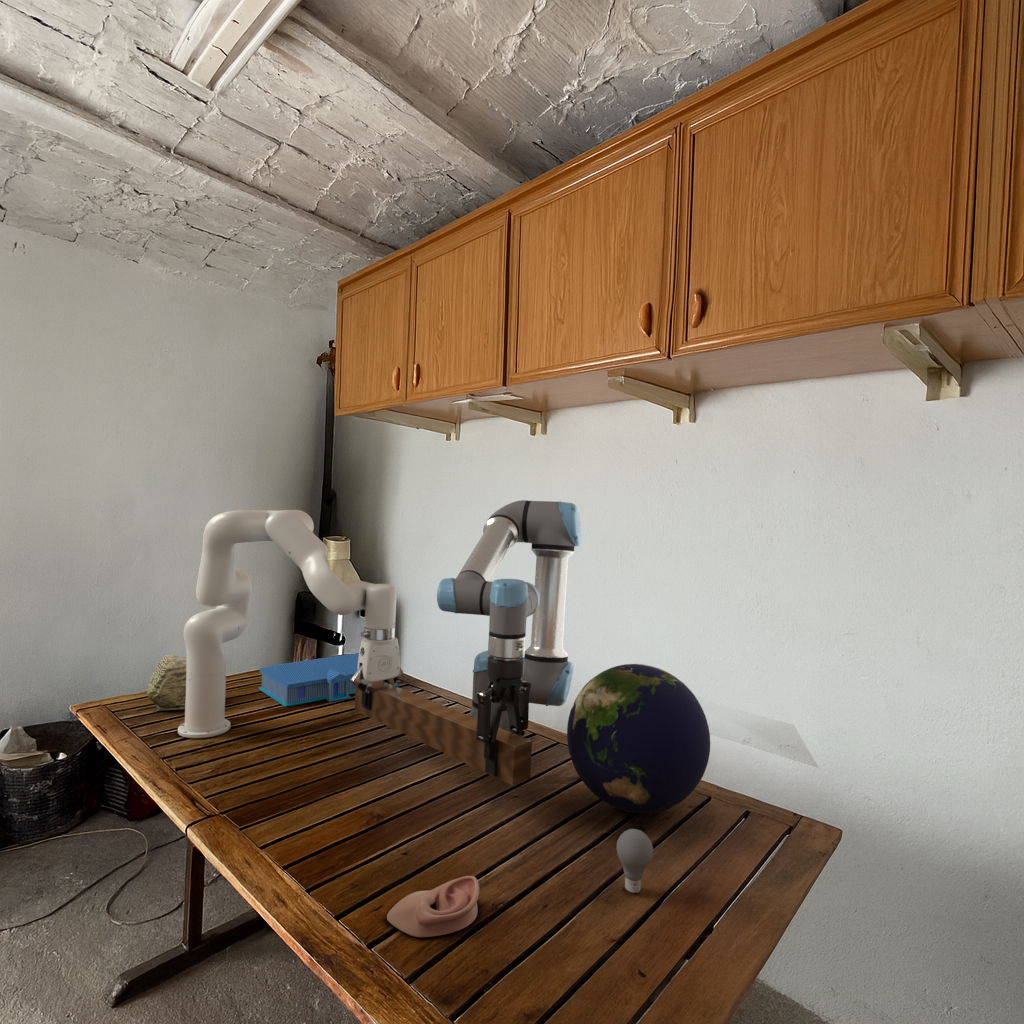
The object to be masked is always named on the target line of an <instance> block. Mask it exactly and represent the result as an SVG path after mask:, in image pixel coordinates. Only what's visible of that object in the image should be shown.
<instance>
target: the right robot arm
mask: <svg viewBox="0 0 1024 1024" xmlns="http://www.w3.org/2000/svg"><path fill="white" fill-rule="evenodd" d="M482 533H483V534H482V535H481V537H480V539H479V540H478V542H477V543H476V544H475V547H474V549H473V550H472V552H471V554H470V555H469V556H468V559H466V562H465V563H464V565H463V567H462V568H461V569H460V571H459V573H458V574H457V576H456V577H455V578H454V577H450V578H449V577H445V578H442V579H441V581H440V582H439V583H438V586H437V591H436V602H437V603H436V604H437V606H438V608H439V610H441V611H442V612H447V613H454V614H460V615H461V614H463V615H477V616H485V617H489V623H488V626H489V627H488V643H487V650H483V651H481V652H480V653H478V654H477V655H476V656H475V657H474V661H473V669H472V698H471V700H472V701H471V708H470V712H469V714H468V715H469V716H471V717H474V718H476V719H477V735H476V738H477V740H480V741H482V742H484V758H486V759H485V772H486V773H485V772H484V773H485V774H487V773H488V774H487V775H489V774H490V775H489V776H491V775H492V776H491V777H493V776H497V763H498V743H497V742H495V741H496V736H497V732H498V727H499V728H501V729H504V730H506V731H509V732H511V733H514V734H516V735H519V736H521V737H524V736H525V734H526V731H525V730H528V728H529V713H530V712H529V711H530V704H535V705H541V706H545V707H548V706H551V707H561V706H563V705H564V704H565V703H566V702H567V699H568V696H569V694H570V690H571V685H572V681H573V674H574V663H573V662H571V661H570V660H569V654H568V653H567V651H566V650H565V649H564V633H565V632H564V631H565V615H566V600H567V584H568V569H569V567H568V566H569V558H570V557H571V556H573V554H575V547H580V546H581V543H582V526H581V517H580V513H579V508H578V507H577V506H576V504H574V503H572V502H566V501H560V500H559V501H554V500H553V501H552V500H550V501H548V500H547V501H545V500H526V499H525V500H524V499H523V500H516V501H513V502H510V503H508V504H505V505H504V506H502V507H500V508H499V509H497V510H496V511H494V512H493V513H492V514H491V515H490V516H489V518H488V519H487V520H486V522H485V523H484V525H483V528H482ZM517 543H525V544H531V549H530V550H531V552H532V553H533V554H534V555H535V559H536V560H535V575H534V584H532V583H531V582H529V581H525V580H522V579H517V578H497V579H495V580H493V579H494V576H495V575H496V573H497V571H498V569H499V568H500V566H501V563H502V562H503V560H504V557H505V556H506V554H507V552H508V550H509V549H511V548H513V546H514V545H515V544H517ZM492 580H493V581H492ZM530 616H532V620H531V621H532V622H531V634H530V635H531V636H530V646H529V647H528V648H526V636H527V635H526V634H527V632H526V631H527V618H528V617H530ZM489 735H490V736H489Z"/></svg>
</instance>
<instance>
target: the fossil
mask: <svg viewBox="0 0 1024 1024" xmlns="http://www.w3.org/2000/svg"><path fill="white" fill-rule="evenodd" d="M186 665H187V658H186V656H183V657H182V656H178V655H175V654H174V655H173V654H165V655H164V656H163V657H162V658H161V659H160V660H159V662H158V663H157V666H156V667H155V669H154V670H153V672H152V675H151V677H150V680H149V684H148V688H147V697H148V699H149V700H150V701H152V703H153V704H154V706H155V711H158V712H159V711H162V712H163V711H177V710H185V701H186Z"/></svg>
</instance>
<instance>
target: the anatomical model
mask: <svg viewBox="0 0 1024 1024" xmlns="http://www.w3.org/2000/svg"><path fill="white" fill-rule="evenodd" d="M479 896H480V884H479V881H478V879H477V878H476V877H475V876H474V875H463V876H461V877H457V878H454V879H451V880H449V881H447V882H445V883H443V884H440V885H438V886H436V887H435V888H433V889H430V890H417V891H415V892H412V893H409V894H408V895H406V896H404V897H402V898H401V899H400V900H399V901H398V902H397V903H395V904H394V905H393V907H391V908H390V910H389V911H388V913H387V914H386V920H387V922H388V923H390V925H392V926H393V927H394V928H396V929H398V930H399V931H401V932H402V933H405V934H406V935H408V936H411V937H415V938H431V937H438V936H443V935H448V934H452V933H456V932H458V931H462V930H463V929H464V928H467V927H468V926H470V925H471V924H472V923H473V922H474V921H475V920H476V918H477V916H478V899H479V898H480V897H479Z"/></svg>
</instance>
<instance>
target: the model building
mask: <svg viewBox="0 0 1024 1024" xmlns="http://www.w3.org/2000/svg"><path fill="white" fill-rule="evenodd" d="M358 657H359V652H356V653H349V654H342V655H341V654H340V655H335V656H329V657H328V656H327V657H321V658H315V659H314V658H313V659H307V660H300V661H293V662H287V663H278V664H272V665H268V666H264V667H263V666H262V667H260V668H259V672H260V673H261V686H260V687H258V690H260V691H261V692H262V693H264V694H265V695H267V696H268V697H270V698H271V699H273V700H274V701H276V702H277V703H279V704H280V705H282V706H283V707H290V706H297V705H302V704H307V703H312V702H317V701H323V700H325V701H327V702H329V703H330V702H335V701H341V700H346V699H347V700H348V699H350V698H351V695H353V694H354V695H355V688H356V685H354V684H353V683H352V682H351V679H352V677H353V676H354V674H355V673H356V671H357V667H358ZM359 680H362V679H359ZM382 681H383V680H382ZM383 682H384V681H383ZM394 686H396V687H397V686H399V683H398V682H396V683H395V684H394Z"/></svg>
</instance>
